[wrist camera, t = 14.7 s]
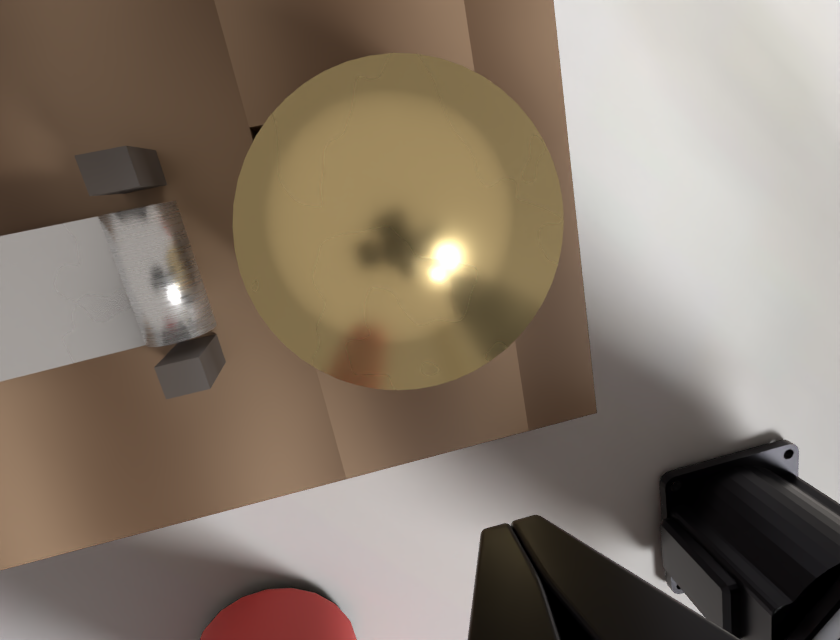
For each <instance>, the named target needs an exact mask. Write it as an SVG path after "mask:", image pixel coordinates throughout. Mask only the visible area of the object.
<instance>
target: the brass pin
mask: <svg viewBox="0 0 840 640" xmlns="http://www.w3.org/2000/svg"><path fill="white" fill-rule="evenodd" d="M563 227H564V217H563V200H562V194H561V189H560V183H559V179H558V175H557V172H556V169H555V166H554V162H553V159H552V157H551V155H550V153H549V151H548V148H547V146H546V144H545V142H544V140H543V138H542V137H541V135H540V133H539V132H538V130H537V129H536V127H535V125H534V124H533V122H532V121H531V120H530V118H529V117H528V116H527V115H526V113H525V112H524V111H523V110H522V109H521V107H520V106H519V105H518V104H517V103H516V102H515V101H514V100H513V99H512V98H511V97H510V96H508V95H507V94H506V93H505V92H504V91H503V90H502V89H501V88H499V87H498V86H496V85H495V84H494V83H492V82H491V81H489V80H488V79H486V78H485V77H483V76H482V75H480V74H478V73H476V72H474V71H472V70H470V69H468V68H466V67H464V66H462V65H459V64H456V63H453V62H450V61H447V60H444V59H441V58H437V57H432V56H426V55H421V54H409V53H388V54H379V55H370V56H366V57H362V58H358V59H354V60H350V61H347V62H344V63H342V64H339V65H337V66H335V67H332V68H330V69H328V70H325V71H323V72H322V73H320V74H318V75H317V76H315V77H313V78H312V79H310V80H309V81H307V82H305V83H304V84H302V85H301V86H300V87H299V88H298V89H296V90H295V91H294V92H293V93H292V94H290V95H289V96H288V97H287V98H285V100H284V101H283V102H282V103H281V104H280V105H279V106H278V107H277V108H276V109H275V111H274V112H273V113H272V114H271V115H270V116H269V117H268V119H267V120H266V122H265V123H264V125H263V126H262V128H261V129H260V131H259V132H258V134H257V135H256V137H255V139H254V141H253V143H252V145H251V147H250V149H249V151H248V153H247V155H246V157H245V160H244V163H243V166H242V169H241V172H240V175H239V178H238V181H237V187H236V192H235V198H234V204H233V238H234V248H235V254H236V258H237V262H238V267H239V271H240V274H241V277H242V279H243V282H244V285H245V287H246V290H247V293H248V295H249V297H250V298H251V300H252V302H253V304H254V306H255V308H256V310H257V311H258V313H259V315H260V316H261V317H262V319H263V320H264V322H265V323H266V324H267V326H268V327H269V328H270V330H271V331H272V332H273V333H274V334H275V335H276V336H277V337H278V339H279V340H280V341H281V342H282V343H283V344H284V345H285V346H286V347H287V348H289V349H290V350H291V351H292V352H293V353H295V354H296V355H297V356H298V357H299V358H301V359H302V360H304V361H305V362H307V363H308V364H310V365H311V366H313V367H315V368H316V369H318V370H319V371H322V372H324V373H326V374H328V375H330V376H332V377H334V378H337V379H339V380H342V381H345V382H348V383H352V384H355V385H358V386H363V387H369V388H374V389H384V390H410V389H420V388H426V387H431V386H436V385H440V384H443V383H446V382H449V381H452V380H456V379H458V378H460V377H462V376H464V375H467V374H469V373H471V372H473V371H475V370H477V369H478V368H480V367H482V366H483V365H485V364H487V363H488V362H490V361H491V360H493V359H494V358H495V357H496V356H498V355H499V354H500V353H502V352H503V351H504V350H505V349H507V348H508V347H509V346H510V345H511V344H512V343H513V342H514V341H515V340H516V339H517V338H518V337H519V336H520V335H521V333H522V332H523V331H524V330H525V328H526V327H527V326H528V325H529V323H530V322H531V321H532V319H533V318H534V316H535V315H536V313H537V311H538V310H539V308H540V307H541V305H542V303H543V302H544V299H545V297H546V295H547V293H548V291H549V289H550V287H551V284H552V282H553V279H554V276H555V272H556V269H557V266H558V263H559V258H560V253H561V248H562V240H563Z"/></svg>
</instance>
